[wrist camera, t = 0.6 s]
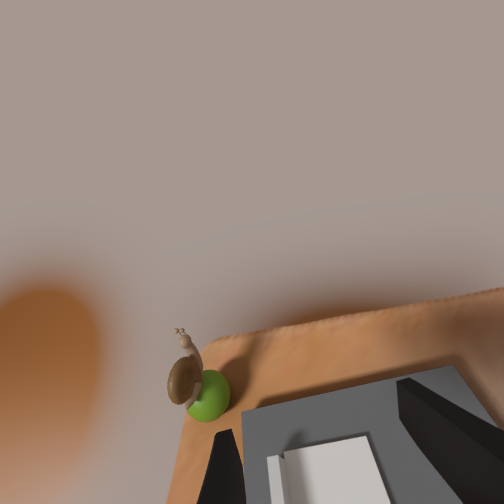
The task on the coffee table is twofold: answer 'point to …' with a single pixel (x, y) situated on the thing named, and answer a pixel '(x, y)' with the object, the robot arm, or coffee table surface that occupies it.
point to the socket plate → (356, 434)
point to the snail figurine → (197, 385)
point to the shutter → (327, 475)
